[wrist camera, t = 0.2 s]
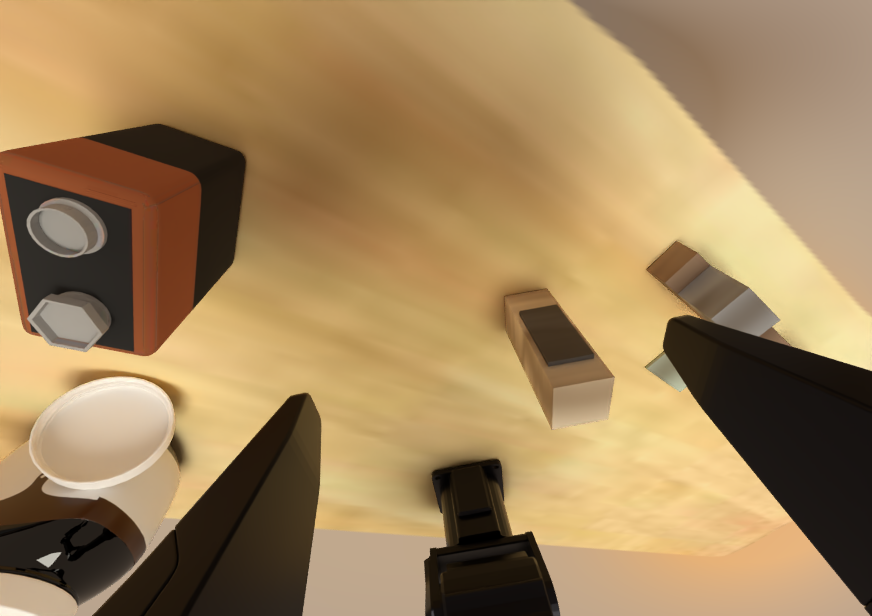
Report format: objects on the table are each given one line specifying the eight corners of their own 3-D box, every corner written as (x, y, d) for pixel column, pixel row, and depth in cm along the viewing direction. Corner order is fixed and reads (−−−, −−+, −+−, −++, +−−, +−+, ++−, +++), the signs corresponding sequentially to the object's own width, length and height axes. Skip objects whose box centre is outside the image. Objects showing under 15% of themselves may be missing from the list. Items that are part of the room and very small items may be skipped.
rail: (802, 364, 32) (864, 407, 28) (721, 420, 35) (767, 467, 31) (676, 241, 25) (736, 274, 20) (586, 326, 28) (622, 370, 23)
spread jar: (78, 482, 30) (-73, 674, 21) (-13, 378, 25) (-286, 578, 15) (229, 465, 31) (155, 642, 21) (177, 361, 25) (41, 539, 16)
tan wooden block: (546, 324, 27) (608, 419, 19) (506, 331, 27) (552, 429, 19) (547, 284, 25) (615, 372, 18) (504, 292, 25) (553, 383, 18)
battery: (152, 244, 21) (-7, 352, 13) (154, 119, 18) (-56, 152, 10) (235, 265, 22) (139, 379, 14) (249, 152, 19) (138, 207, 11)
